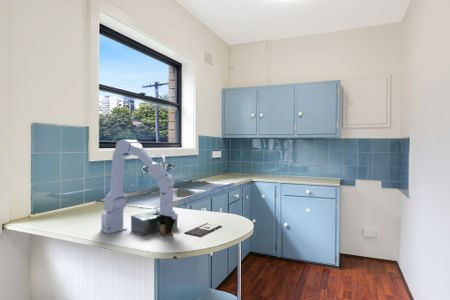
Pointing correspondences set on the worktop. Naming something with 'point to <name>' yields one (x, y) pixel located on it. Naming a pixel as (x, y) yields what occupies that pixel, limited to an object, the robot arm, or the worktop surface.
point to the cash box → (147, 223)
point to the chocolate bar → (202, 230)
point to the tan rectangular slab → (163, 231)
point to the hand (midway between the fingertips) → (166, 232)
